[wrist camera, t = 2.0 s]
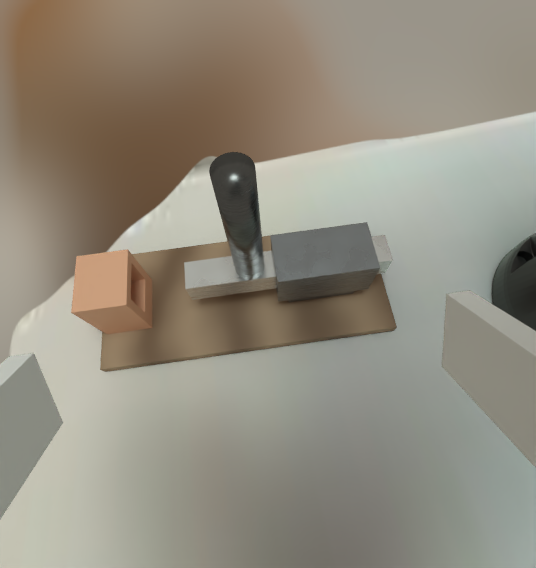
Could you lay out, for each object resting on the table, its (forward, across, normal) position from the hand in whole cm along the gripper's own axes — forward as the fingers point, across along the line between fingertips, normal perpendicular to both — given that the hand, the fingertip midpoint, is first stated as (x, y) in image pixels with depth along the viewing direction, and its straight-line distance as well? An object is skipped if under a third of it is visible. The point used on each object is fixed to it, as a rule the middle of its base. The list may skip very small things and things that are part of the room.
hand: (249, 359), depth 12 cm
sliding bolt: (+19, +3, -4) cm, 20 cm away
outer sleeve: (+21, +6, -6) cm, 23 cm away
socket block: (+21, -11, -6) cm, 25 cm away
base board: (+22, 0, -7) cm, 23 cm away
